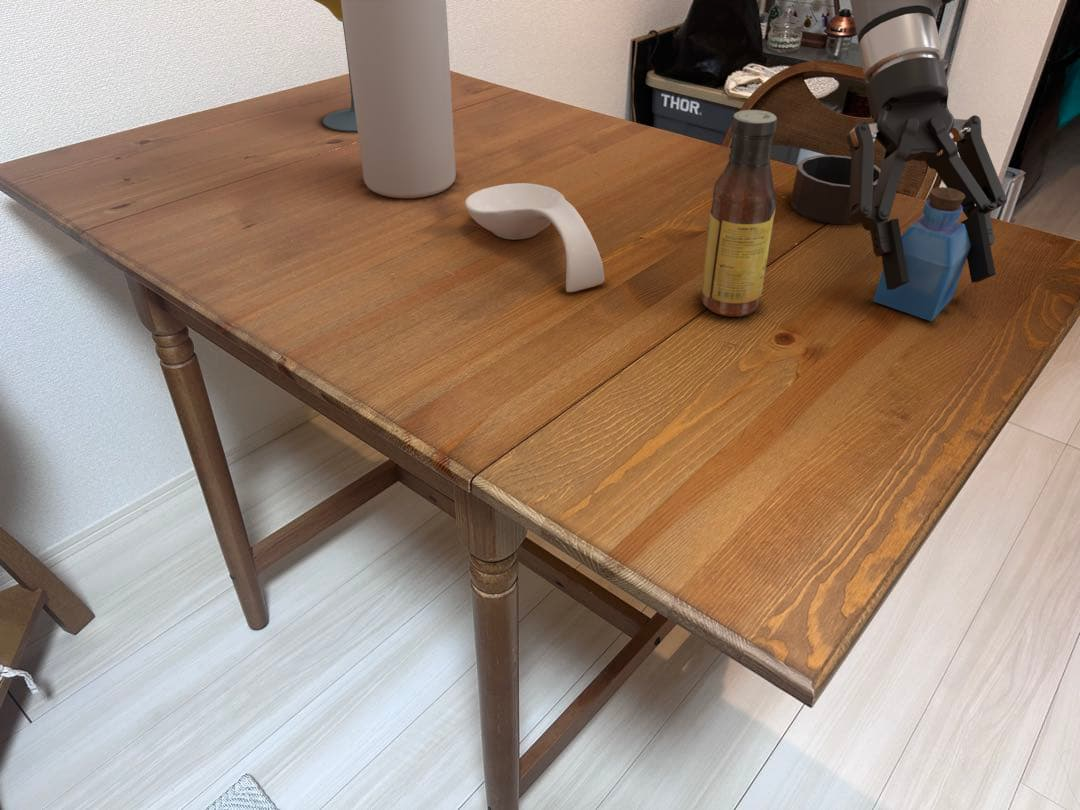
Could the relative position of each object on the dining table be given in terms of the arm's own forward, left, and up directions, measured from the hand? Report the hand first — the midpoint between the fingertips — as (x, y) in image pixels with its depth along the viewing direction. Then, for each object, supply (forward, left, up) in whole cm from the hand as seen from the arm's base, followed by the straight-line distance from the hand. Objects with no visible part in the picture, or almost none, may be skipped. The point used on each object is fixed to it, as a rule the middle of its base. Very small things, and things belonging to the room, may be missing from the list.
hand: (941, 282), depth 82 cm
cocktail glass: (+83, -39, -4) cm, 92 cm away
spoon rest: (+43, -4, -4) cm, 44 cm away
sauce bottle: (+20, +3, -4) cm, 21 cm away
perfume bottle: (+1, -3, -4) cm, 5 cm away
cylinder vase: (+65, -18, -4) cm, 68 cm away
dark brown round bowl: (+9, -26, -4) cm, 28 cm away
